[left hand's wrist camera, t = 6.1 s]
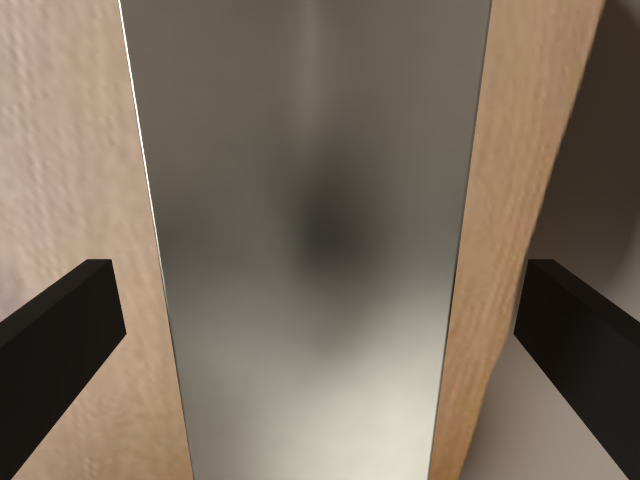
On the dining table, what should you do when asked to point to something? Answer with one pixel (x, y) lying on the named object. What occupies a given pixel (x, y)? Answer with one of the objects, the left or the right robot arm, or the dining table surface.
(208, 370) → the bar
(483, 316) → the dining table surface
